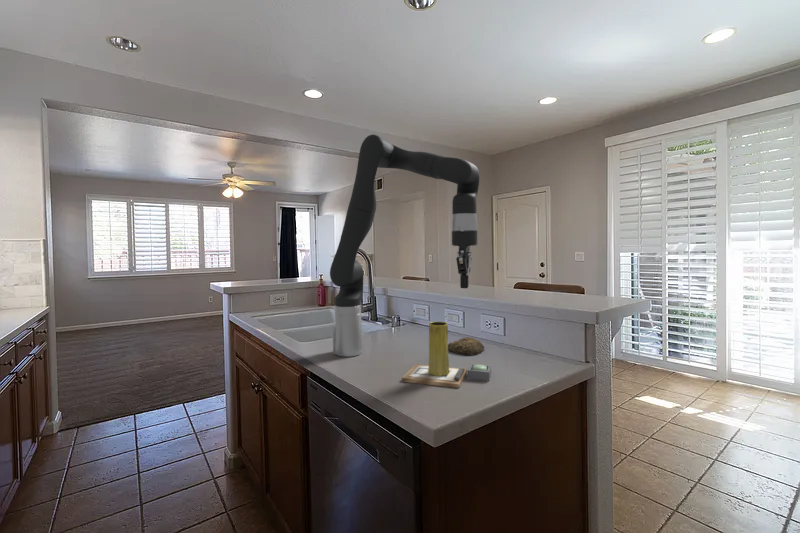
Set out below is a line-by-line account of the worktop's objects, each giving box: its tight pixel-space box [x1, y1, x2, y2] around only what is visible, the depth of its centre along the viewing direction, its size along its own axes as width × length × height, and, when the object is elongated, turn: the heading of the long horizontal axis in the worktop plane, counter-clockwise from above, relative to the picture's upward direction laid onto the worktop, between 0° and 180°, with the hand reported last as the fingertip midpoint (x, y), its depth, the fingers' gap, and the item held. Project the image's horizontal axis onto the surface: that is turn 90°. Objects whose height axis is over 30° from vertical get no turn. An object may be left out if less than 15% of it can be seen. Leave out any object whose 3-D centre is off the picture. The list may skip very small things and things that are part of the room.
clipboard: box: [401, 363, 468, 389], centre depth 108 cm, size 16×13×2 cm
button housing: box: [466, 363, 492, 382], centre depth 108 cm, size 6×6×2 cm
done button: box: [473, 364, 487, 371], centre depth 108 cm, size 4×4×2 cm
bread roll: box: [448, 336, 485, 356], centre depth 136 cm, size 13×12×5 cm
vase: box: [428, 321, 450, 376], centre depth 107 cm, size 6×6×14 cm
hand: (464, 287), depth 112 cm, fingers closed
